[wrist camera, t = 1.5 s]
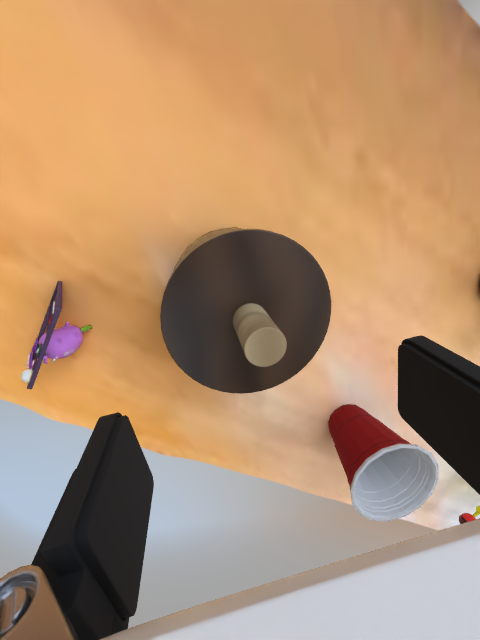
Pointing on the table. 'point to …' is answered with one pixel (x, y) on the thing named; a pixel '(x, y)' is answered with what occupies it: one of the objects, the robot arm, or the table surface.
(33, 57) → the table surface
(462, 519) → the toy figure
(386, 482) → the plastic cup
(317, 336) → the basket lid
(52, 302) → the purple toy package
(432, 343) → the robot arm
